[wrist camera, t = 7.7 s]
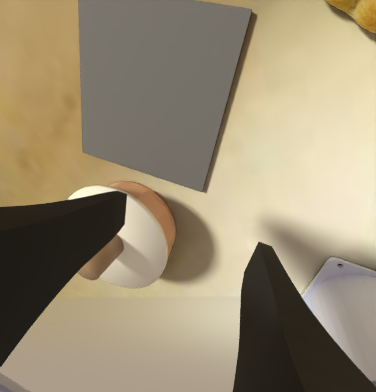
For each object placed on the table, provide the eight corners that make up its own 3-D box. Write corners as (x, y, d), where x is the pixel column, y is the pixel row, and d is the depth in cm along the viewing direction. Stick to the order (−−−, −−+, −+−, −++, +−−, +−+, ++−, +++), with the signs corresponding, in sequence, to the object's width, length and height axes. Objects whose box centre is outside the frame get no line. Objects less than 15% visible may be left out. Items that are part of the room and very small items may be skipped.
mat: (252, 11, 14) (251, 9, 14) (202, 190, 20) (201, 192, 20) (81, -15, 16) (77, -18, 16) (85, 151, 23) (82, 152, 22)
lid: (177, 208, 17) (156, 235, 14) (159, 299, 23) (141, 335, 19) (62, 169, 20) (17, 183, 16) (70, 260, 25) (39, 286, 21)
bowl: (184, 199, 21) (170, 217, 18) (167, 271, 26) (154, 296, 23) (97, 169, 23) (68, 180, 20) (96, 241, 28) (74, 260, 25)
